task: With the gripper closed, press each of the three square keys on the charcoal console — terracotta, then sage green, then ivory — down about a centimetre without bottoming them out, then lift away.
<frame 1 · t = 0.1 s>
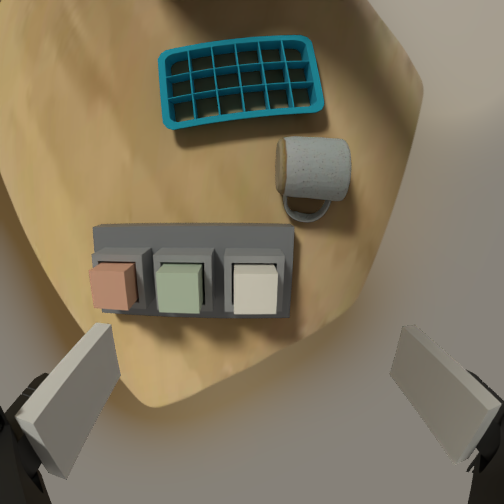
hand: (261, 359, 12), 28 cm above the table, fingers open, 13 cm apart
console: (191, 267, 40), on the table
terracotta key: (115, 284, 32), point 8 cm above the table, slide at 0.0 cm
sage key: (181, 286, 32), point 8 cm above the table, slide at 0.0 cm
ivory key: (254, 287, 32), point 8 cm above the table, slide at 0.0 cm
ice cube tray: (239, 83, 35), on the table
ceramic mug: (305, 179, 38), on the table
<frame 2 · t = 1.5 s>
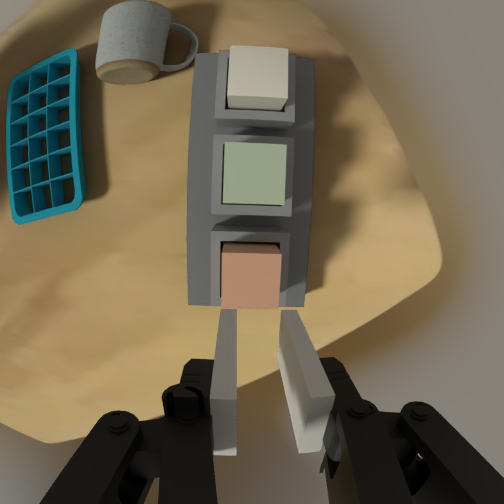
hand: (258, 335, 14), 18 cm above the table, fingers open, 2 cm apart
console: (249, 177, 31), on the table
terracotta key: (249, 273, 25), point 8 cm above the table, slide at 0.0 cm
sage key: (253, 174, 23), point 8 cm above the table, slide at 0.0 cm
ivory key: (256, 80, 21), point 8 cm above the table, slide at 0.0 cm
ice cube tray: (51, 136, 29), on the table
ceramic mug: (153, 53, 27), on the table
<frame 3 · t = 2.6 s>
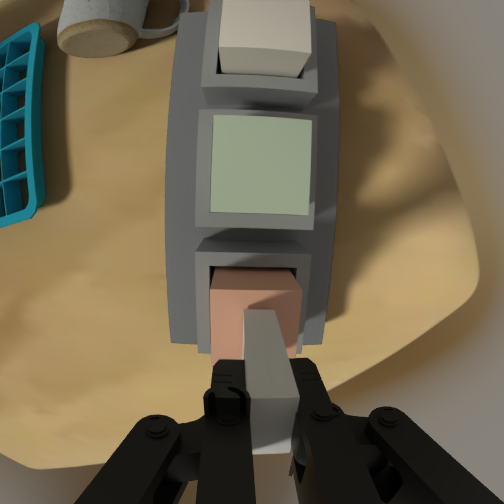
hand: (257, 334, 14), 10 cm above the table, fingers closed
console: (251, 173, 23), on the table
terracotta key: (252, 313, 17), point 8 cm above the table, slide at 0.0 cm, touching gripper
sage key: (258, 167, 15), point 8 cm above the table, slide at 0.0 cm
ivory key: (262, 33, 13), point 8 cm above the table, slide at 0.0 cm
ice cube tray: (10, 129, 20), on the table
ceramic mug: (133, 21, 19), on the table
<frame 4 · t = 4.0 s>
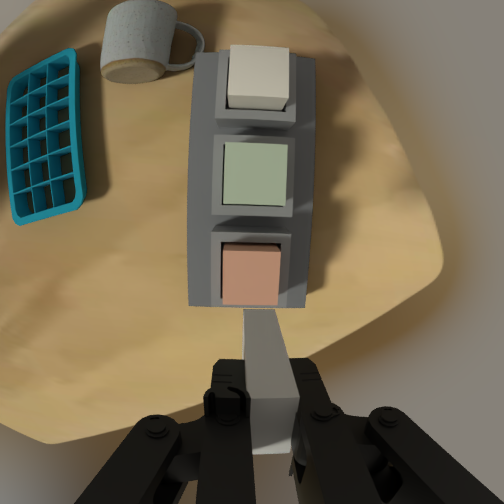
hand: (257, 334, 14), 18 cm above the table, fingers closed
console: (250, 177, 30), on the table
terracotta key: (250, 270, 25), point 7 cm above the table, slide at 1.0 cm
sage key: (254, 174, 23), point 8 cm above the table, slide at 0.0 cm
ivory key: (257, 79, 21), point 8 cm above the table, slide at 0.0 cm
ice cube tray: (51, 137, 28), on the table
ceramic mug: (158, 53, 27), on the table
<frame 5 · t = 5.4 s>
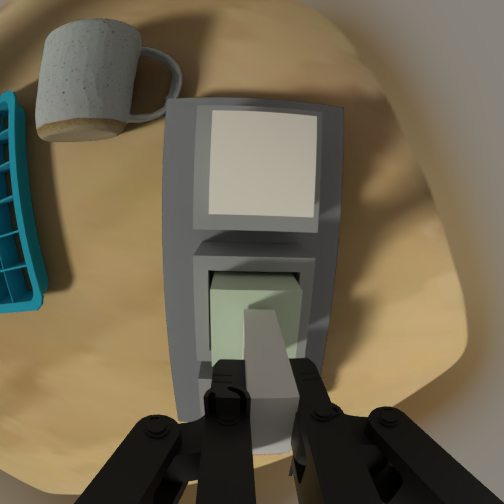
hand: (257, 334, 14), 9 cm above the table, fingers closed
console: (248, 277, 23), on the table
terracotta key: (248, 413, 19), point 7 cm above the table, slide at 1.0 cm
sage key: (252, 313, 17), point 7 cm above the table, slide at 0.9 cm, touching gripper
ivory key: (259, 166, 14), point 8 cm above the table, slide at 0.0 cm
ice cube tray: (2, 206, 21), on the table
ceramic mug: (120, 91, 20), on the table
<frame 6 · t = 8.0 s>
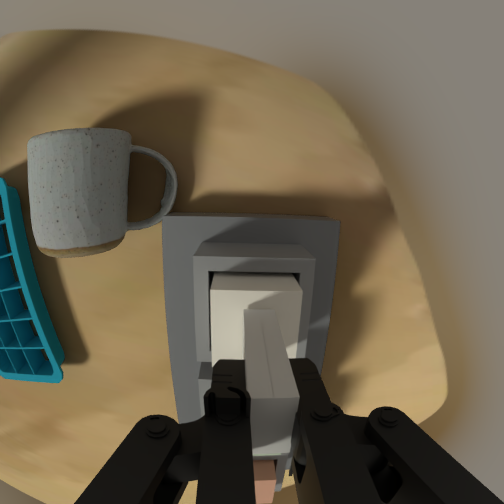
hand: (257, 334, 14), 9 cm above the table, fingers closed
console: (245, 363, 25), on the table
terracotta key: (246, 473, 20), point 7 cm above the table, slide at 1.0 cm
sage key: (248, 414, 18), point 7 cm above the table, slide at 1.0 cm
ivory key: (252, 313, 17), point 7 cm above the table, slide at 1.0 cm, touching gripper
ice cube tray: (9, 282, 23), on the table
ceramic mug: (115, 184, 22), on the table
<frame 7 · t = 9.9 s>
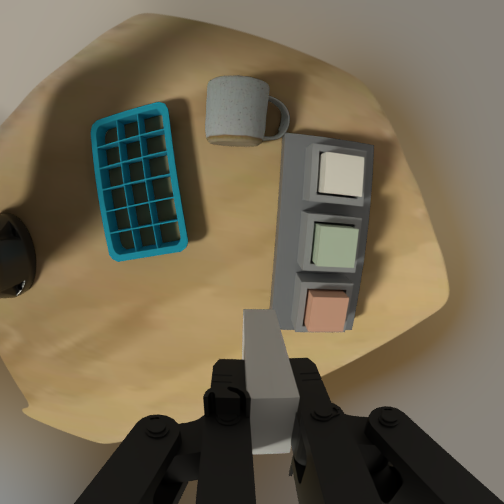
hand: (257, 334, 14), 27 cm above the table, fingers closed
console: (318, 234, 41), on the table
terracotta key: (324, 307, 36), point 7 cm above the table, slide at 1.0 cm
sage key: (332, 243, 34), point 7 cm above the table, slide at 1.0 cm
ivory key: (338, 175, 32), point 7 cm above the table, slide at 1.0 cm
ice cube tray: (142, 182, 39), on the table
ceramic mug: (247, 118, 37), on the table, touching console
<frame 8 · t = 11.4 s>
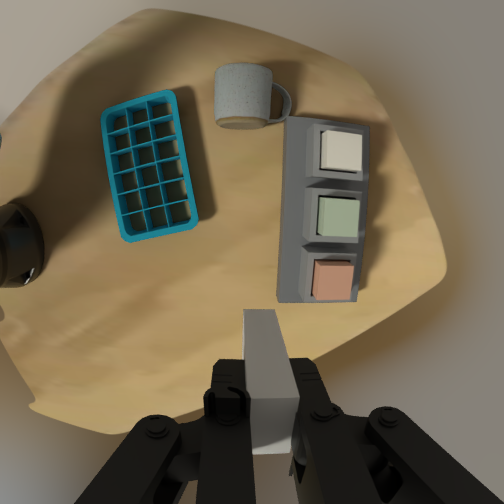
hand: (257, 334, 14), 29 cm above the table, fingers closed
console: (321, 211, 43), on the table
terracotta key: (330, 277, 38), point 7 cm above the table, slide at 1.0 cm
sage key: (335, 215, 36), point 7 cm above the table, slide at 1.0 cm
ivory key: (338, 152, 34), point 7 cm above the table, slide at 1.0 cm
ice cube tray: (151, 166, 41), on the table
ceramic mug: (251, 103, 39), on the table
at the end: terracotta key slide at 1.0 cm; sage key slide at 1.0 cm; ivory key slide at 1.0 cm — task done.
